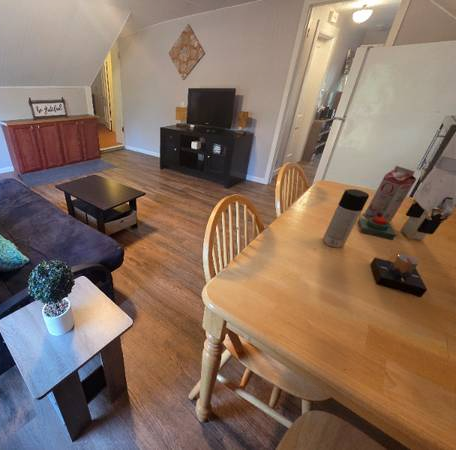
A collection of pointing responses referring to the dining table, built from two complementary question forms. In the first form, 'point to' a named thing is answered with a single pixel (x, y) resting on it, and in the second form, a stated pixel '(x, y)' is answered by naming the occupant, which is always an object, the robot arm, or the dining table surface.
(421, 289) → the hob panel
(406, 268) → the hob knob
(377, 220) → the button
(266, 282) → the dining table surface
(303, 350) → the dining table surface
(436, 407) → the dining table surface
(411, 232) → the cosmetic box
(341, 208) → the spray can
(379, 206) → the juice carton
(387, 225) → the button box
